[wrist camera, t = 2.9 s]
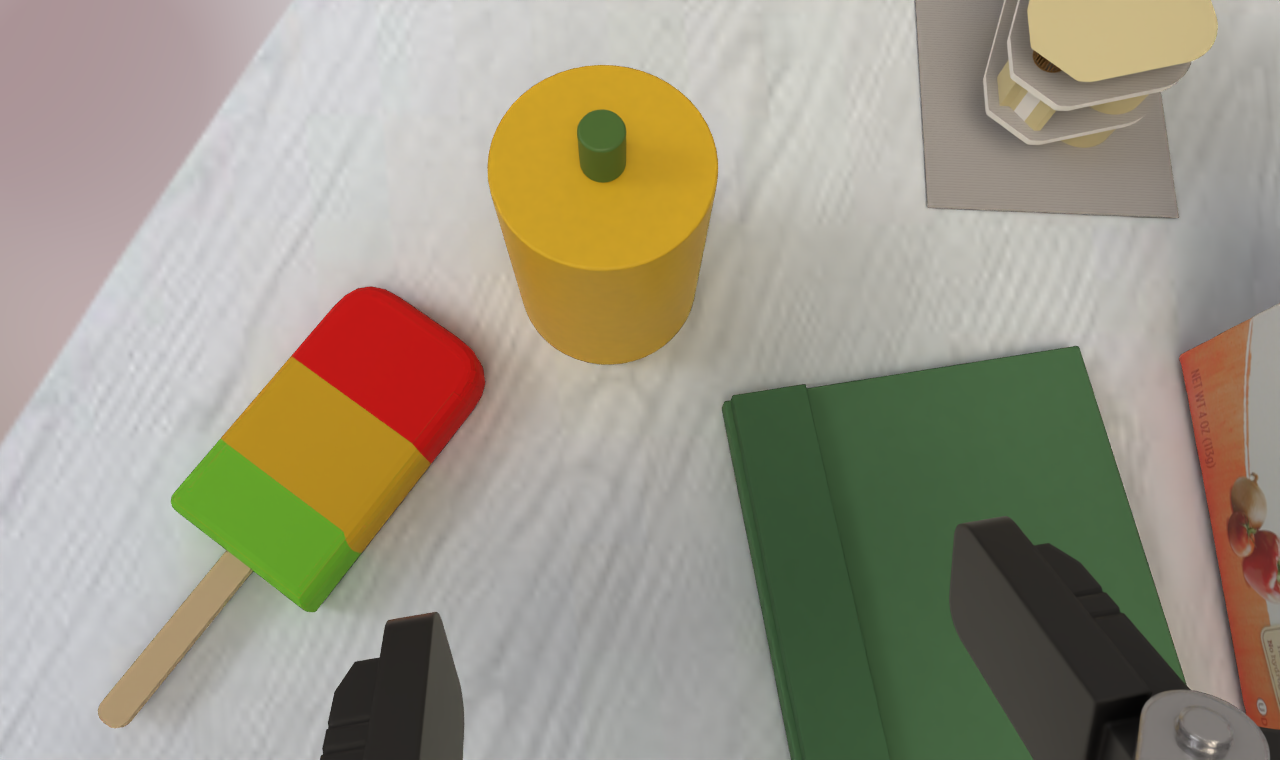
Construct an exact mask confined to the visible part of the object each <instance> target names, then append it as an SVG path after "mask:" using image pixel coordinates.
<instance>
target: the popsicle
mask: <svg viewBox="0 0 1280 760" xmlns="http://www.w3.org/2000/svg"><path fill="white" fill-rule="evenodd" d="M484 386H485V378H484V370H483V367H482V365H481V363H480V362H479V360H478V358H477V356H476V355H475V353H474V351H473V350H472V349H471V348H469V347H468V346H467V345H466V344H465V343H464V342H463V341H461V340H460V339H459V338H458V337H456V336H455V335H453V334H452V333H451V332H449V331H448V330H446V329H445V328H443V327H442V326H440V325H439V324H438V323H436V322H435V321H433V320H432V319H430V318H429V317H428V316H426V315H425V314H423V313H422V312H420V311H419V310H417V309H416V308H415V307H413V306H412V305H410V304H409V303H407V302H406V301H404V300H403V299H402V298H400V297H398V296H397V295H395V294H393V293H391V292H389V291H387V290H385V289H381V288H376V287H364V288H358V289H356V290H354V291H352V292H351V293H349V294H347V295H345V296H344V297H343V298H342V299H341V300H340V301H339V302H338V303H337V304H336V305H335V306H334V307H333V308H332V309H331V310H330V311H329V313H328V314H327V315H326V316H325V317H324V318H323V320H322V321H321V322H320V323H319V324H318V325H317V327H316V328H315V329H314V330H313V331H312V332H311V334H310V335H309V336H308V337H307V338H306V339H305V341H304V342H303V343H302V344H301V345H300V346H299V348H298V349H297V350H296V351H295V352H294V353H293V355H292V356H291V357H290V358H289V359H288V360H287V362H286V363H285V364H284V365H283V366H282V367H281V369H280V370H279V371H278V372H277V373H276V374H275V376H274V377H273V378H272V379H271V380H270V381H269V383H268V384H267V385H266V386H265V387H264V388H263V390H262V391H261V392H260V393H259V394H258V395H257V397H256V398H255V399H254V400H253V401H252V402H251V404H250V405H249V406H248V407H247V408H246V409H245V411H244V412H243V413H242V414H241V415H240V416H239V418H238V419H237V420H236V421H235V422H234V423H233V425H232V426H231V427H230V428H229V429H228V430H227V432H226V433H225V434H224V435H223V436H222V437H221V439H220V440H219V441H218V442H217V443H216V444H215V446H214V447H213V448H212V449H211V450H210V451H209V453H208V454H207V455H206V456H205V457H204V458H203V460H202V461H201V462H200V463H199V464H198V465H197V467H196V468H195V469H194V470H193V471H192V472H191V474H190V475H189V476H188V477H187V478H186V479H185V481H184V482H183V483H182V484H181V485H180V486H179V488H178V489H177V490H176V491H175V492H174V494H173V495H172V498H171V504H172V507H173V508H174V509H175V510H176V511H177V512H178V513H179V514H181V515H182V516H183V517H185V518H186V519H187V520H188V521H190V522H191V523H192V524H194V525H195V526H196V527H197V528H199V529H200V530H201V531H203V532H204V533H205V534H206V535H208V536H209V537H210V538H212V539H213V540H214V541H215V542H217V543H218V544H219V545H221V546H222V547H223V548H224V549H226V552H225V553H224V554H223V555H222V556H221V558H220V559H219V560H218V561H217V563H216V564H215V565H214V566H213V567H212V569H211V570H210V571H209V572H208V573H207V575H206V576H205V577H204V578H203V580H202V581H201V582H200V583H199V584H198V586H197V587H196V588H195V589H194V590H193V592H192V593H191V594H190V595H189V596H188V598H187V599H186V600H185V601H184V603H183V604H182V605H181V606H180V607H179V609H178V610H177V611H176V612H175V613H174V615H173V616H172V617H171V618H170V620H169V621H168V622H167V623H166V624H165V626H164V627H163V628H162V629H161V630H160V632H159V633H158V634H157V635H156V637H155V638H154V639H153V640H152V641H151V643H150V644H149V645H148V646H147V647H146V649H145V650H144V651H143V652H142V653H141V655H140V656H139V657H138V658H137V660H136V661H135V662H134V663H133V664H132V666H131V667H130V668H129V669H128V670H127V672H126V673H125V674H124V675H123V677H122V678H121V679H120V680H119V681H118V683H117V684H116V685H115V686H114V687H113V689H112V690H111V691H110V692H109V694H108V695H107V696H106V697H105V698H104V700H103V701H102V702H101V704H100V706H99V708H98V715H99V718H100V719H101V720H102V721H103V722H104V723H105V724H106V725H108V726H109V727H111V728H120V727H124V726H126V725H128V724H129V723H130V722H131V721H132V720H133V718H134V717H135V716H136V715H137V714H138V712H139V711H140V710H141V709H142V707H143V706H144V705H145V704H146V702H147V701H148V700H149V699H150V697H151V696H152V695H153V694H154V693H155V691H156V690H157V689H158V688H159V686H160V685H161V684H162V683H163V681H164V680H165V679H166V678H167V677H168V675H169V674H170V673H171V672H172V670H173V669H174V668H175V667H176V665H177V664H178V663H179V662H180V660H181V659H182V658H183V657H184V656H185V654H186V653H187V652H188V651H189V649H190V648H191V647H192V646H193V644H194V643H195V642H196V641H197V640H198V638H199V637H200V636H201V635H202V633H203V632H204V631H205V630H206V628H207V627H208V626H209V625H210V623H211V622H212V621H213V620H214V619H215V617H216V616H217V615H218V614H219V612H220V611H221V610H222V609H223V607H224V606H225V605H226V604H227V603H228V601H229V600H230V599H231V598H232V596H233V595H234V594H235V593H236V591H237V590H238V589H239V588H240V586H241V585H242V584H243V583H244V582H245V580H246V579H247V578H248V577H249V575H250V574H251V573H252V572H253V571H254V572H255V573H257V574H258V575H259V576H261V577H262V578H263V579H264V580H266V581H267V582H268V583H270V584H271V585H272V586H273V587H275V588H276V589H277V590H279V591H280V592H281V593H282V594H284V595H285V596H286V597H288V598H289V599H290V600H291V601H293V602H294V603H295V604H297V605H298V606H299V607H300V608H302V609H303V610H305V611H307V612H315V611H317V609H318V608H319V607H320V606H321V604H322V603H323V602H324V600H325V599H326V598H327V597H328V595H329V594H330V593H331V591H332V590H333V589H334V588H335V586H336V585H337V584H338V582H339V581H340V580H341V579H342V577H343V576H344V575H345V574H346V572H347V571H348V570H349V568H350V567H351V566H352V565H353V563H354V562H355V561H356V559H357V558H358V557H359V556H360V554H361V553H362V552H363V550H364V549H365V548H366V547H367V545H368V544H369V543H370V542H371V540H372V539H373V538H374V536H375V535H376V534H377V533H378V531H379V530H380V529H381V527H382V526H383V525H384V524H385V522H386V521H387V520H388V518H389V517H390V516H391V515H392V513H393V512H394V511H395V510H396V508H397V507H398V506H399V504H400V503H401V502H402V501H403V499H404V498H405V497H406V495H407V494H408V493H409V492H410V490H411V489H412V488H413V486H414V485H415V484H416V483H417V481H418V480H419V479H420V477H421V476H422V475H423V474H424V472H425V471H426V470H427V469H428V467H429V466H430V465H431V463H432V462H433V461H434V460H435V458H436V457H437V456H438V454H439V453H440V452H441V451H442V449H443V448H444V447H445V445H446V444H447V443H448V442H449V440H450V439H451V438H452V437H453V435H454V434H455V433H456V431H457V430H458V429H459V428H460V426H461V425H462V424H463V422H464V421H465V420H466V419H467V417H468V416H469V415H470V413H471V412H472V411H473V409H474V408H475V406H476V405H477V403H478V401H479V400H480V398H481V396H482V393H483V389H484Z"/></svg>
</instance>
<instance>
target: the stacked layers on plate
mask: <svg viewBox="0 0 1280 760" xmlns="http://www.w3.org/2000/svg"><path fill="white" fill-rule="evenodd" d="M915 1H916V18H917V35H918V52H919V69H920V86H921V103H922V120H923V137H924V154H925V171H926V188H927V205H928V208H949V209H973V210H998V211H1022V212H1046V213H1071V214H1095V215H1120V216H1144V217H1169V218H1179V214H1178V207H1177V201H1176V194H1175V187H1174V180H1173V173H1172V166H1171V159H1170V152H1169V146H1168V139H1167V132H1166V125H1165V118H1164V111H1163V104H1162V97H1161V91H1164V90H1166V89H1168V88H1170V87H1172V86H1173V85H1175V84H1176V83H1177V82H1178V81H1179V80H1180V79H1181V78H1182V77H1183V76H1184V75H1185V73H1186V72H1187V71H1188V69H1189V67H1190V65H1191V61H1193V60H1196V59H1198V58H1200V57H1201V56H1203V55H1204V54H1205V53H1206V52H1207V51H1208V50H1209V49H1210V48H1211V47H1212V45H1213V43H1214V41H1215V39H1216V36H1217V30H1218V23H1217V18H1216V14H1215V11H1214V8H1213V5H1212V3H1211V0H915Z"/></svg>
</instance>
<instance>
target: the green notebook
mask: <svg viewBox="0 0 1280 760" xmlns="http://www.w3.org/2000/svg"><path fill="white" fill-rule="evenodd" d="M722 412H723V417H724V422H725V427H726V432H727V437H728V442H729V447H730V452H731V457H732V462H733V467H734V472H735V477H736V482H737V488H738V493H739V498H740V503H741V508H742V513H743V518H744V523H745V528H746V533H747V538H748V543H749V548H750V553H751V558H752V563H753V568H754V573H755V579H756V584H757V589H758V594H759V599H760V604H761V609H762V614H763V619H764V624H765V629H766V634H767V639H768V644H769V649H770V654H771V659H772V664H773V669H774V675H775V680H776V685H777V690H778V695H779V700H780V705H781V710H782V715H783V720H784V725H785V730H786V735H787V740H788V745H789V750H790V755H791V760H1034V759H1033V758H1032V756H1031V755H1030V753H1029V751H1028V750H1027V748H1026V746H1025V745H1024V743H1023V741H1022V740H1021V738H1020V737H1019V735H1018V733H1017V732H1016V730H1015V728H1014V727H1013V725H1012V723H1011V722H1010V720H1009V718H1008V717H1007V715H1006V714H1005V712H1004V710H1003V709H1002V707H1001V705H1000V704H999V702H998V700H997V699H996V697H995V696H994V694H993V692H992V691H991V689H990V687H989V686H988V684H987V682H986V681H985V679H984V678H983V676H982V674H981V673H980V671H979V669H978V668H977V666H976V664H975V663H974V661H973V659H972V658H971V656H970V655H969V653H968V651H967V650H966V648H965V646H964V645H963V643H962V641H961V640H960V638H959V636H958V634H957V632H956V629H955V627H954V624H953V620H952V616H951V612H950V605H949V592H950V580H951V567H952V554H953V542H954V532H955V529H956V527H957V525H958V524H961V523H967V522H973V521H978V520H984V519H990V518H996V517H1002V516H1007V517H1010V518H1011V519H1012V520H1013V521H1014V522H1015V523H1016V524H1017V525H1018V526H1019V528H1020V529H1021V530H1022V531H1023V533H1024V534H1025V535H1026V536H1027V537H1028V539H1029V540H1030V541H1031V542H1032V544H1033V545H1039V544H1045V543H1050V544H1052V545H1053V546H1055V547H1056V548H1058V549H1060V550H1061V551H1063V552H1064V553H1066V554H1068V555H1069V556H1071V557H1073V558H1074V559H1076V560H1077V561H1079V562H1081V563H1082V565H1083V566H1084V567H1085V568H1086V569H1087V570H1088V572H1089V573H1090V574H1091V575H1092V576H1093V577H1094V579H1095V580H1096V581H1097V582H1098V583H1099V584H1100V586H1101V587H1102V591H1103V592H1104V593H1105V592H1106V593H1107V594H1108V595H1109V596H1110V597H1111V598H1112V599H1113V601H1114V602H1115V603H1116V604H1117V605H1118V606H1119V608H1120V612H1121V613H1125V615H1126V616H1127V617H1128V618H1129V619H1130V620H1131V622H1132V623H1133V624H1134V625H1135V626H1136V627H1137V629H1138V630H1139V631H1140V632H1141V633H1142V634H1143V636H1144V637H1145V638H1146V639H1147V640H1148V641H1149V642H1150V644H1151V645H1152V646H1153V647H1154V648H1155V649H1156V651H1157V652H1158V653H1159V654H1160V655H1161V656H1162V658H1163V659H1164V660H1165V661H1166V662H1167V663H1168V665H1169V666H1170V667H1171V668H1172V669H1173V670H1174V672H1175V673H1176V674H1177V675H1178V676H1179V677H1180V678H1181V680H1182V681H1183V682H1184V683H1185V684H1186V682H1185V679H1184V675H1183V672H1182V669H1181V666H1180V663H1179V660H1178V657H1177V653H1176V650H1175V647H1174V644H1173V641H1172V638H1171V635H1170V631H1169V628H1168V625H1167V622H1166V619H1165V616H1164V613H1163V609H1162V606H1161V603H1160V600H1159V597H1158V594H1157V591H1156V587H1155V584H1154V581H1153V578H1152V575H1151V572H1150V569H1149V565H1148V562H1147V559H1146V556H1145V553H1144V550H1143V547H1142V543H1141V540H1140V537H1139V534H1138V531H1137V528H1136V525H1135V521H1134V518H1133V515H1132V512H1131V509H1130V506H1129V503H1128V499H1127V496H1126V493H1125V490H1124V487H1123V484H1122V480H1121V477H1120V474H1119V471H1118V468H1117V465H1116V462H1115V458H1114V455H1113V452H1112V449H1111V446H1110V443H1109V440H1108V436H1107V433H1106V430H1105V427H1104V424H1103V421H1102V418H1101V414H1100V411H1099V408H1098V405H1097V402H1096V399H1095V396H1094V392H1093V389H1092V386H1091V383H1090V380H1089V377H1088V374H1087V370H1086V367H1085V364H1084V361H1083V358H1082V355H1081V352H1080V348H1079V346H1073V347H1067V348H1060V349H1054V350H1048V351H1041V352H1035V353H1029V354H1022V355H1016V356H1010V357H1003V358H997V359H991V360H984V361H978V362H972V363H965V364H959V365H953V366H946V367H940V368H934V369H927V370H921V371H915V372H908V373H902V374H895V375H889V376H883V377H876V378H870V379H864V380H857V381H851V382H845V383H838V384H832V385H826V386H819V387H813V388H806V385H805V384H802V385H796V386H790V387H783V388H777V389H771V390H764V391H758V392H752V393H745V394H739V395H733V396H732V398H731V401H725V402H724V404H723V407H722Z"/></svg>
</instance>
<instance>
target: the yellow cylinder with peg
mask: <svg viewBox="0 0 1280 760" xmlns="http://www.w3.org/2000/svg"><path fill="white" fill-rule="evenodd" d="M487 168H488V182H489V187H490V192H491V196H492V199H493V203H494V206H495V209H496V213H497V216H498V219H499V223H500V226H501V229H502V233H503V236H504V240H505V243H506V246H507V250H508V253H509V256H510V260H511V263H512V266H513V270H514V273H515V277H516V280H517V283H518V287H519V290H520V293H521V297H522V300H523V303H524V306H525V309H526V312H527V315H528V316H529V318H530V320H531V322H532V324H533V325H534V327H535V328H536V330H537V331H538V332H539V334H540V335H541V336H542V337H543V338H544V339H545V340H546V341H547V342H548V343H550V344H551V345H552V346H553V347H555V348H556V349H558V350H559V351H561V352H563V353H564V354H566V355H568V356H571V357H573V358H575V359H578V360H581V361H585V362H589V363H595V364H622V363H627V362H631V361H635V360H638V359H641V358H643V357H646V356H648V355H650V354H652V353H654V352H655V351H657V350H658V349H660V348H661V347H663V346H664V345H665V344H667V343H668V342H669V341H670V340H671V339H672V338H673V337H674V336H675V335H676V334H677V332H678V331H679V330H680V329H681V327H682V326H683V324H684V323H685V321H686V319H687V317H688V315H689V313H690V311H691V307H692V304H693V301H694V296H695V291H696V286H697V281H698V276H699V271H700V266H701V261H702V256H703V251H704V246H705V241H706V236H707V231H708V226H709V221H710V216H711V211H712V206H713V201H714V196H715V191H716V185H717V179H718V158H717V151H716V147H715V143H714V140H713V136H712V134H711V132H710V130H709V127H708V125H707V123H706V122H705V120H704V118H703V117H702V115H701V114H700V112H699V111H698V110H697V108H696V107H695V106H694V105H693V104H692V102H691V101H690V100H689V99H688V98H687V97H685V96H684V95H683V94H682V93H681V92H680V91H679V90H677V89H676V88H674V87H673V86H672V85H670V84H669V83H667V82H665V81H663V80H661V79H660V78H658V77H656V76H653V75H651V74H648V73H646V72H643V71H640V70H636V69H632V68H628V67H621V66H613V65H595V66H584V67H579V68H574V69H570V70H567V71H564V72H560V73H558V74H555V75H553V76H551V77H549V78H546V79H544V80H543V81H541V82H539V83H538V84H536V85H534V86H533V87H531V88H530V89H529V90H528V91H526V92H525V93H524V94H523V95H521V96H520V97H519V98H518V99H517V100H516V101H515V102H514V103H513V104H512V106H511V107H510V108H509V110H508V111H507V112H506V114H505V115H504V116H503V118H502V120H501V122H500V124H499V125H498V127H497V129H496V132H495V134H494V137H493V139H492V142H491V146H490V151H489V156H488V167H487Z"/></svg>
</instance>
